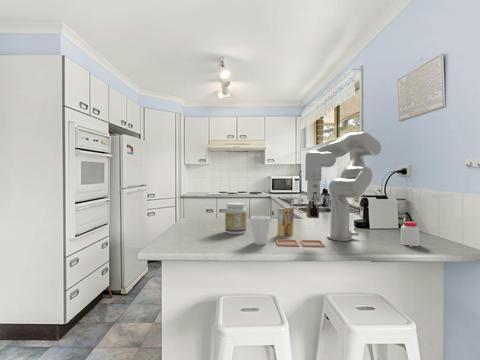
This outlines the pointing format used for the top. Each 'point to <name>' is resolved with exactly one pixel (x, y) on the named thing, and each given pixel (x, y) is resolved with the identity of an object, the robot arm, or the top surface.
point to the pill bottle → (410, 234)
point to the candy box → (285, 221)
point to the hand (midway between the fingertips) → (312, 215)
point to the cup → (260, 229)
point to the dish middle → (287, 242)
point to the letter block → (309, 211)
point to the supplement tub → (235, 218)
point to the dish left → (312, 243)
